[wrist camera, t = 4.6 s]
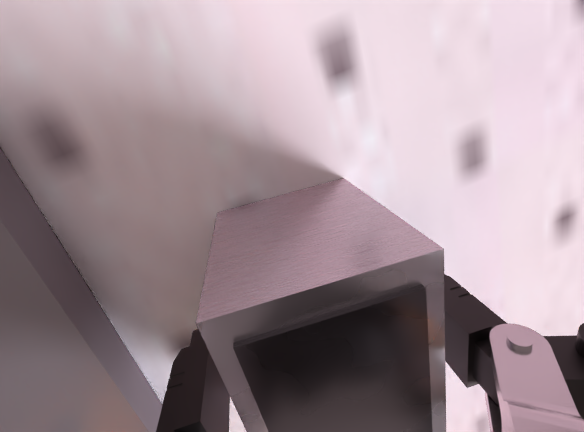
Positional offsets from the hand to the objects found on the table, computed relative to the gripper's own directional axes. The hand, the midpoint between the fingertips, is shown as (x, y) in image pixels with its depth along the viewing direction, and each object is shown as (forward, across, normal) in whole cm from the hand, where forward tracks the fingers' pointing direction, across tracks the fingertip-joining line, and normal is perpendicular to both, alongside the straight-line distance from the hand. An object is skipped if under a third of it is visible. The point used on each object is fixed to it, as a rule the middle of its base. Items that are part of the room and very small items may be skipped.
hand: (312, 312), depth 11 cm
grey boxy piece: (+2, 0, 0) cm, 2 cm away
